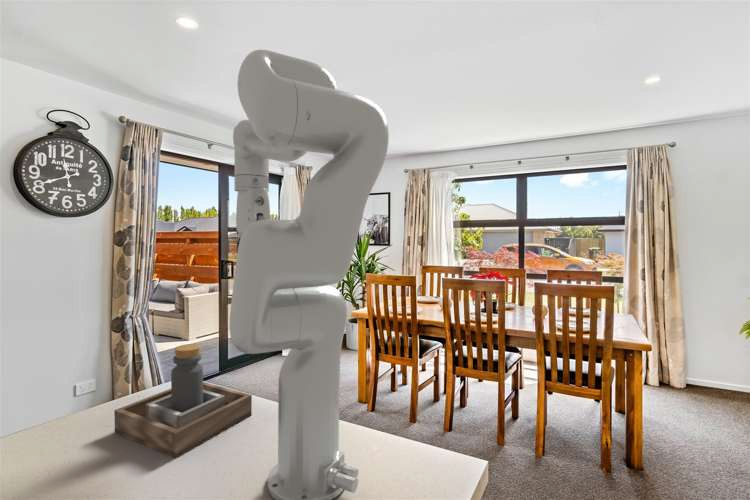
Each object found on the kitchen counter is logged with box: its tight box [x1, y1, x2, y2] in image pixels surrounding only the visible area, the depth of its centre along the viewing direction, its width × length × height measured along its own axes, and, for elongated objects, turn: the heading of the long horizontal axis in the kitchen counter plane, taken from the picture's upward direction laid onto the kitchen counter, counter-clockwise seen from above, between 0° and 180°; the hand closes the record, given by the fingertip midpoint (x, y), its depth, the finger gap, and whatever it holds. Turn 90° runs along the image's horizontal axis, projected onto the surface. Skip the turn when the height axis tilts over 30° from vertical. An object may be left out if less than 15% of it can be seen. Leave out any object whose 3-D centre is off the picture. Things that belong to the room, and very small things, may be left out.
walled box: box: [114, 381, 253, 459], centre depth 79 cm, size 18×18×5 cm
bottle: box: [170, 343, 204, 413], centre depth 79 cm, size 6×6×15 cm
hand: (251, 259), depth 90 cm, fingers open, 9 cm apart
